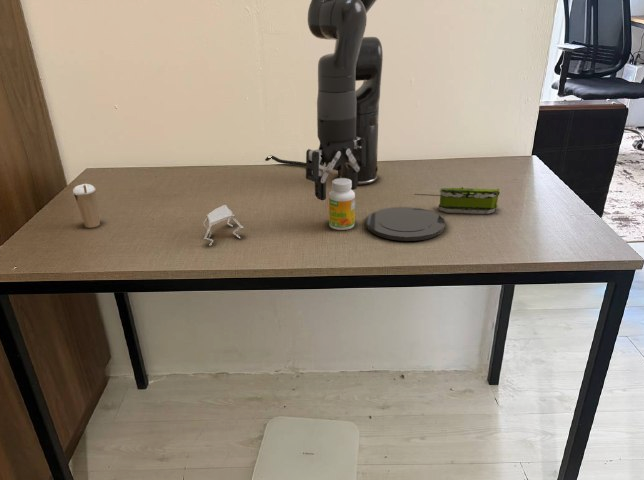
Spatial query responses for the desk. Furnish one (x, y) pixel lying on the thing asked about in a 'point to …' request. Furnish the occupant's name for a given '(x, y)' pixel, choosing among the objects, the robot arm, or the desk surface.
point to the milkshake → (87, 204)
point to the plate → (405, 223)
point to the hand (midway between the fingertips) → (336, 193)
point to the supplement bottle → (341, 205)
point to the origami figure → (218, 216)
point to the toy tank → (468, 200)
